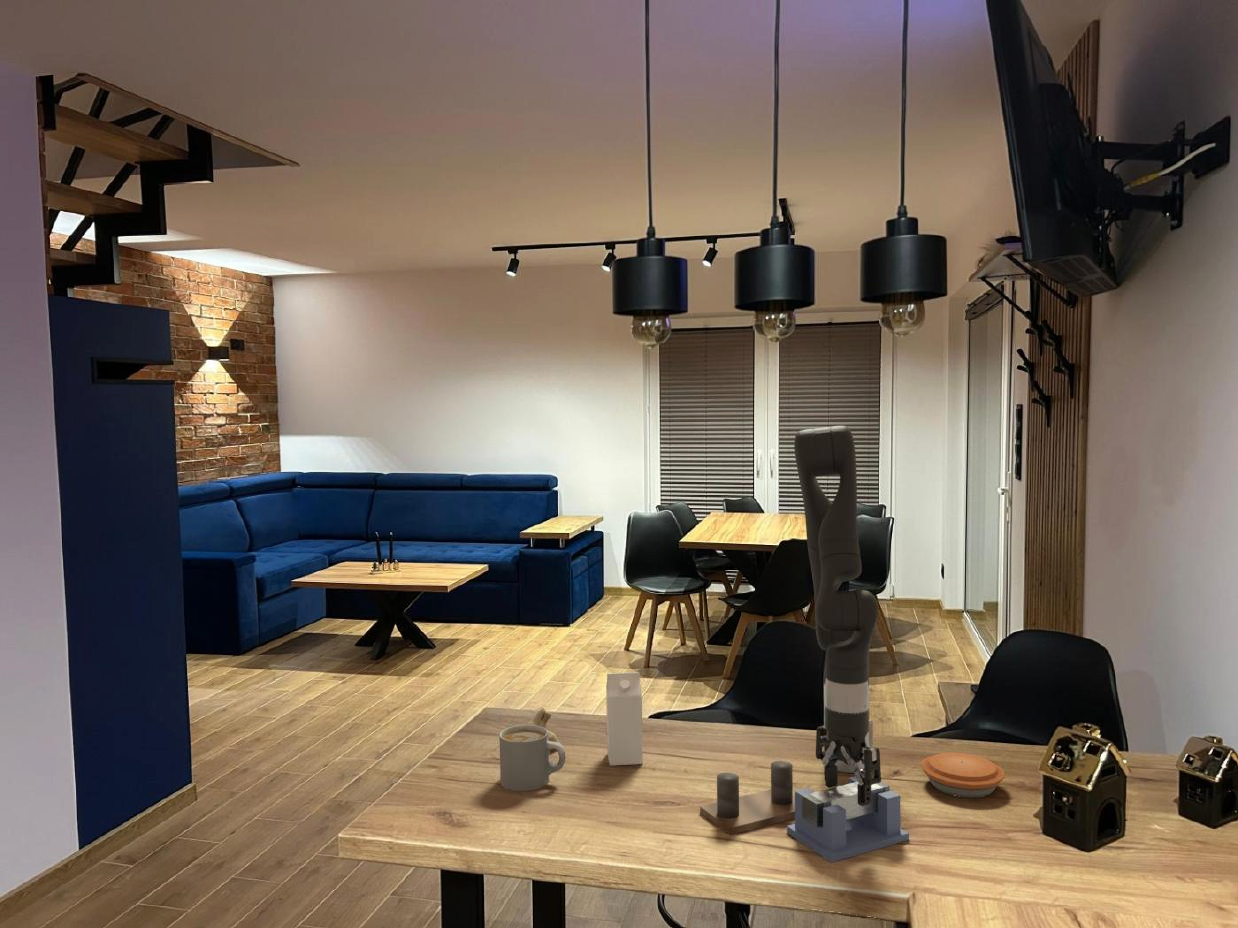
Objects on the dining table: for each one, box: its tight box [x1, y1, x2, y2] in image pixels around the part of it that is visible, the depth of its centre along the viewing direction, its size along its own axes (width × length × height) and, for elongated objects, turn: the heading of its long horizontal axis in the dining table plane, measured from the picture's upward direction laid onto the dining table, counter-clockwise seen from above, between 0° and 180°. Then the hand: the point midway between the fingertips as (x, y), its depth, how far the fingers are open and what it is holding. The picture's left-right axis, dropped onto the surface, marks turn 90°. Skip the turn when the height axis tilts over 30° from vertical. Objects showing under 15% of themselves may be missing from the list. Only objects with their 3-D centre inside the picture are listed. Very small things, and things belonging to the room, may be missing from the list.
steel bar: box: [802, 781, 891, 827], centre depth 154 cm, size 16×4×4 cm, turn 116°
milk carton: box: [605, 671, 644, 766], centre depth 190 cm, size 7×7×19 cm
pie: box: [920, 752, 1006, 799], centre depth 174 cm, size 15×16×5 cm
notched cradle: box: [786, 775, 910, 863], centre depth 154 cm, size 17×12×8 cm
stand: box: [699, 760, 795, 836], centre depth 163 cm, size 18×10×8 cm, turn 116°
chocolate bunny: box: [526, 707, 561, 754], centre depth 196 cm, size 6×8×10 cm
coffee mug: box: [499, 724, 566, 792], centre depth 179 cm, size 13×10×10 cm
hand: (847, 795), depth 154 cm, fingers open, 8 cm apart
